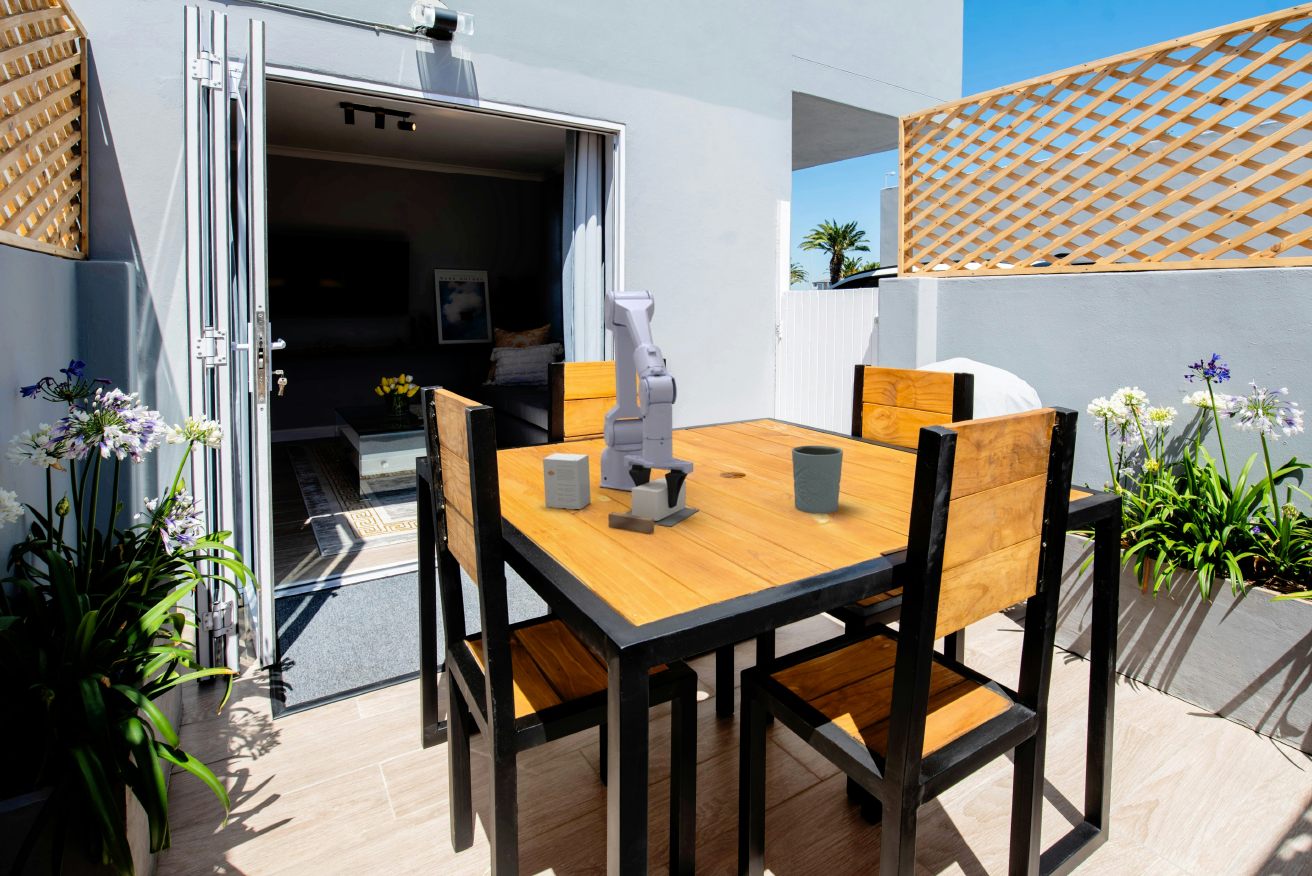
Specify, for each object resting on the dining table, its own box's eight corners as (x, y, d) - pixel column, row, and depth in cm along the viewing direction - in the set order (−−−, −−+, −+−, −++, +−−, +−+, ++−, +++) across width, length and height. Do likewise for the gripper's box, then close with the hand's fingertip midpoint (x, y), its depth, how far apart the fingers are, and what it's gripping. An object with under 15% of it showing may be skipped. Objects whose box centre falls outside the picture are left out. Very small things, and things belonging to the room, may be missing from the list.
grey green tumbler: (812, 517, 138) (814, 457, 136) (780, 504, 147) (781, 447, 145) (851, 509, 143) (854, 451, 140) (818, 497, 151) (820, 442, 149)
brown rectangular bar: (608, 526, 134) (608, 513, 133) (613, 524, 135) (612, 511, 134) (650, 533, 129) (649, 520, 129) (654, 531, 131) (653, 518, 130)
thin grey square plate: (616, 518, 139) (616, 517, 139) (647, 502, 149) (647, 502, 149) (670, 527, 133) (670, 525, 133) (699, 510, 143) (699, 509, 143)
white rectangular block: (631, 516, 138) (631, 488, 137) (661, 504, 148) (661, 477, 147) (657, 520, 135) (657, 492, 134) (685, 507, 145) (685, 480, 144)
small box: (591, 503, 150) (589, 454, 148) (579, 510, 144) (578, 460, 142) (557, 500, 152) (555, 452, 150) (544, 507, 147) (542, 457, 145)
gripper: (615, 437, 138) (616, 504, 141) (681, 444, 131) (681, 514, 134) (634, 431, 144) (635, 496, 147) (698, 437, 137) (698, 505, 140)
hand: (658, 504), depth 141 cm, fingers closed on white rectangular block, 6 cm apart
